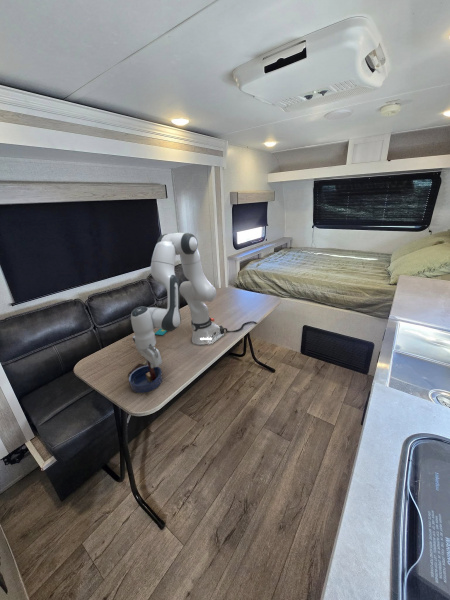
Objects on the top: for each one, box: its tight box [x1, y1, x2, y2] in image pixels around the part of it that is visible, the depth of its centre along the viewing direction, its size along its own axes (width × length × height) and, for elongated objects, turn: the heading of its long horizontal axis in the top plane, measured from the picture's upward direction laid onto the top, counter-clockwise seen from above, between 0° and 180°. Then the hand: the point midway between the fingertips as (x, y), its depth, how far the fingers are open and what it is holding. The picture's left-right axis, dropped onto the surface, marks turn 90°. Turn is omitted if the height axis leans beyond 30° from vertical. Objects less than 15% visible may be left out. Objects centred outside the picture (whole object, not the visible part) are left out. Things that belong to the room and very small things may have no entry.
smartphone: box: [154, 328, 169, 337], centre depth 171 cm, size 7×1×15 cm
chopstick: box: [147, 360, 156, 381], centre depth 116 cm, size 2×2×15 cm
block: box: [146, 372, 156, 382], centre depth 122 cm, size 4×4×4 cm
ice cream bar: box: [127, 360, 147, 376], centre depth 131 cm, size 5×2×15 cm
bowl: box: [128, 364, 164, 394], centre depth 120 cm, size 16×16×5 cm
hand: (151, 365), depth 116 cm, fingers closed on chopstick, 2 cm apart
